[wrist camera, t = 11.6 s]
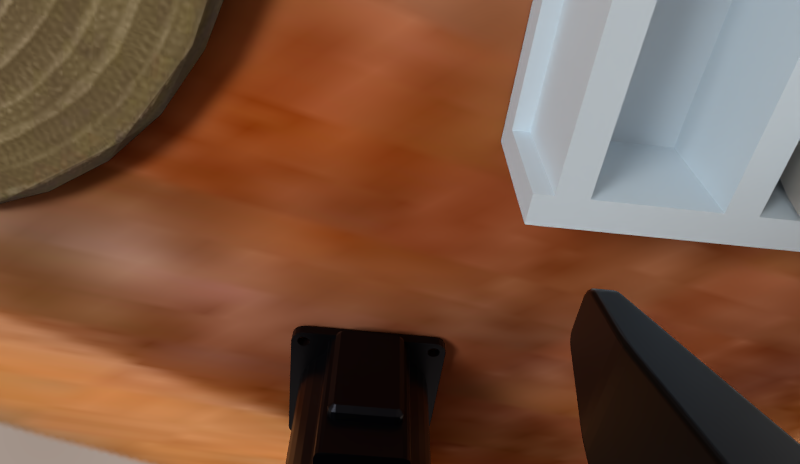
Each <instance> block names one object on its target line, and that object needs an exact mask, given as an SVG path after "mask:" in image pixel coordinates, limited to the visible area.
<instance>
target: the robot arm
mask: <svg viewBox="0 0 800 464" xmlns="http://www.w3.org/2000/svg"><path fill="white" fill-rule="evenodd" d="M300 337H306V338H308V339H302V338H300ZM570 345H571V354H572V362H573V370H574V377H575V385H576V393H577V401H578V409H579V417H580V425H581V431H582V438H583V443H584V447H585V452H586V456H587V460H588V464H800V444H799V443H798V442H797V441H795V440H794V439H793V438H792V437H791V436H789V435H788V434H787V433H786V432H785V431H783V430H782V429H781V428H780V427H779V426H777V425H776V424H775V423H774V422H773V421H772V420H770V419H769V418H768V417H767V416H766V415H764V414H763V413H762V412H761V411H760V410H758V409H757V408H756V407H755V406H754V405H752V404H751V403H750V402H749V401H748V400H747V399H745V398H744V397H743V396H742V395H741V394H739V393H738V392H737V391H736V390H735V389H733V388H732V387H731V386H730V385H729V384H727V383H726V382H725V381H724V380H723V379H722V378H720V377H719V376H718V375H717V374H716V373H714V372H713V371H712V370H711V369H710V368H708V367H707V366H706V365H705V364H704V363H703V362H701V361H700V360H699V359H698V358H697V357H695V356H694V355H693V354H692V353H691V352H689V351H688V350H687V349H686V348H685V347H683V346H682V345H681V344H680V343H679V342H678V341H676V340H675V339H674V338H673V337H672V336H670V335H669V334H668V333H667V332H666V331H664V330H663V329H662V328H661V327H660V326H658V325H657V324H656V323H655V322H654V321H653V320H651V319H650V318H649V317H648V316H647V315H645V314H644V313H643V312H642V311H641V310H639V309H638V308H637V307H636V306H635V305H633V304H632V303H631V302H630V301H629V300H628V299H626V298H625V297H624V296H623V295H622V294H620V293H619V292H617V291H614V290H603V289H590V290H588V291H587V293H586V294H585V296H584V298H583V301H582V303H581V306H580V309H579V312H578V314H577V317H576V320H575V323H574V326H573V328H572V332H571V339H570ZM432 348H436V350H430V349H432ZM444 357H445V343H444V342H443V341H442V340H441V339H439V338H435V337H425V336H413V335H402V334H390V333H379V332H368V331H356V330H345V329H334V328H322V327H311V326H300V327H297V328H296V329H295V330H294V331H293V335H292V340H291V371H290V406H289V428H290V430H291V436H290V442H289V447H288V453H287V459H286V464H431V459H430V436H429V426H430V422H431V417H432V412H433V408H434V403H435V399H436V394H437V389H438V385H439V380H440V376H441V371H442V366H443V362H444Z"/></svg>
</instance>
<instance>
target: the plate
mask: <svg viewBox="0 0 800 464" xmlns="http://www.w3.org/2000/svg"><path fill="white" fill-rule="evenodd" d="M780 180H781V182H782V185H783V187H784V189H785V192H786V194H787V196H788V198H789V200H790V202H791V203H792V205H793V207H794V208H795V210H796V212H797V213H798V215H799V216H800V140H799V142H798V144H797V146H796V147H795V149H794V151H793V153H792V155H791V157H790V159H789V161H788V163H787V165H786V167H785V169H784V171H783V173H782V175H781V177H780Z"/></svg>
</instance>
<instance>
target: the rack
mask: <svg viewBox="0 0 800 464" xmlns="http://www.w3.org/2000/svg"><path fill="white" fill-rule="evenodd" d="M799 140H800V0H533V2H532V7H531V11H530V16H529V20H528V24H527V29H526V33H525V38H524V42H523V46H522V51H521V55H520V60H519V64H518V69H517V73H516V77H515V82H514V86H513V91H512V95H511V99H510V104H509V108H508V113H507V117H506V121H505V126H504V130H503V135H502V139H501V143H502V147H503V150H504V154H505V157H506V161H507V164H508V168H509V171H510V175H511V178H512V182H513V185H514V189H515V192H516V196H517V199H518V203H519V206H520V209H521V213H522V216H523V220H524V223H525V224H527V225H537V226H547V227H557V228H567V229H577V230H587V231H597V232H607V233H617V234H627V235H637V236H647V237H657V238H667V239H677V240H687V241H697V242H707V243H717V244H727V245H736V246H746V247H756V248H766V249H776V250H786V251H796V252H800V216H799V215H798V213H797V212H796V210H795V208H794V207H793V205H792V203H791V202H790V200H789V198H788V196H787V194H786V192H785V189H784V187H783V185H782V182H781V180H780V177H781V175H782V173H783V171H784V169H785V167H786V165H787V163H788V161H789V159H790V157H791V155H792V153H793V151H794V149H795V147H796V146H797V144H798V142H799Z"/></svg>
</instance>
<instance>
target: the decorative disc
mask: <svg viewBox="0 0 800 464" xmlns="http://www.w3.org/2000/svg"><path fill="white" fill-rule="evenodd" d="M222 3H223V0H0V204H1V203H5V202H9V201H13V200H17V199H21V198H25V197H29V196H33V195H37V194H41V193H45V192H49V191H51V190H53V189H55V188H57V187H59V186H61V185H62V184H64V183H66V182H68V181H70V180H72V179H74V178H76V177H78V176H80V175H82V174H84V173H86V172H88V171H90V170H92V169H94V168H95V167H97V166H99V165H101V164H103V163H105V162H107V161H109V160H110V159H111V158H112V157H113V156H115V155H116V154H117V153H118V152H119V151H120V150H121V149H122V148H124V147H125V146H126V145H127V144H128V143H129V142H130V141H132V140H133V139H134V138H135V137H136V136H137V135H138V134H139V133H141V132H142V131H143V130H144V129H145V128H146V127H147V126H148V125H150V124H151V123H152V122H153V121H154V120H155V119H156V118H157V117H159V116H160V115H161V114H162V112H163V111H164V109H165V108H166V106H167V105H168V103H169V102H170V100H171V99H172V97H173V96H174V94H175V93H176V91H177V90H178V89H179V87H180V86H181V84H182V83H183V81H184V80H185V78H186V77H187V75H188V74H189V72H190V71H191V69H192V68H193V66H194V65H195V63H196V62H197V60H198V59H199V57H200V56H201V54H202V53H203V51H204V50H205V48H206V45H207V42H208V40H209V37H210V34H211V32H212V29H213V26H214V24H215V21H216V18H217V16H218V13H219V11H220V8H221V5H222Z"/></svg>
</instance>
